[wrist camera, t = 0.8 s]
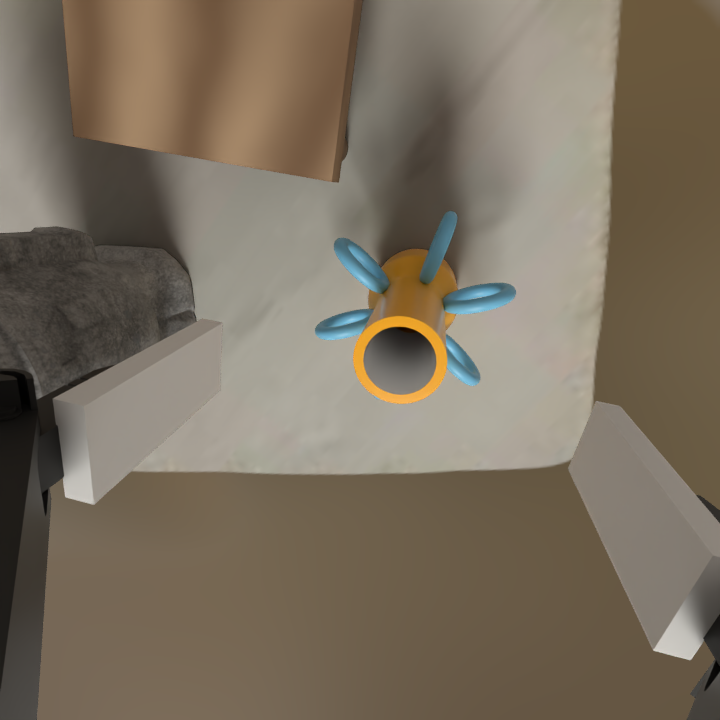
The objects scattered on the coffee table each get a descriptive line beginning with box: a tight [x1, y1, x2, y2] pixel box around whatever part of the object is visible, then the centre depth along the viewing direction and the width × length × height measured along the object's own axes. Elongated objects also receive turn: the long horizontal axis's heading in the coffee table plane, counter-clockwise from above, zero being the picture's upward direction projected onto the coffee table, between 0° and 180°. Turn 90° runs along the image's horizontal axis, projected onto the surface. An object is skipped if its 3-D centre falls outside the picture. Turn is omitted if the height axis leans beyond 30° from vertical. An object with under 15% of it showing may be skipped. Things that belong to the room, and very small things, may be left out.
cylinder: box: [315, 211, 516, 404], centre depth 25 cm, size 12×10×15 cm
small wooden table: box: [62, 0, 363, 182], centre depth 24 cm, size 15×15×8 cm
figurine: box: [0, 227, 196, 399], centre depth 25 cm, size 10×14×25 cm
